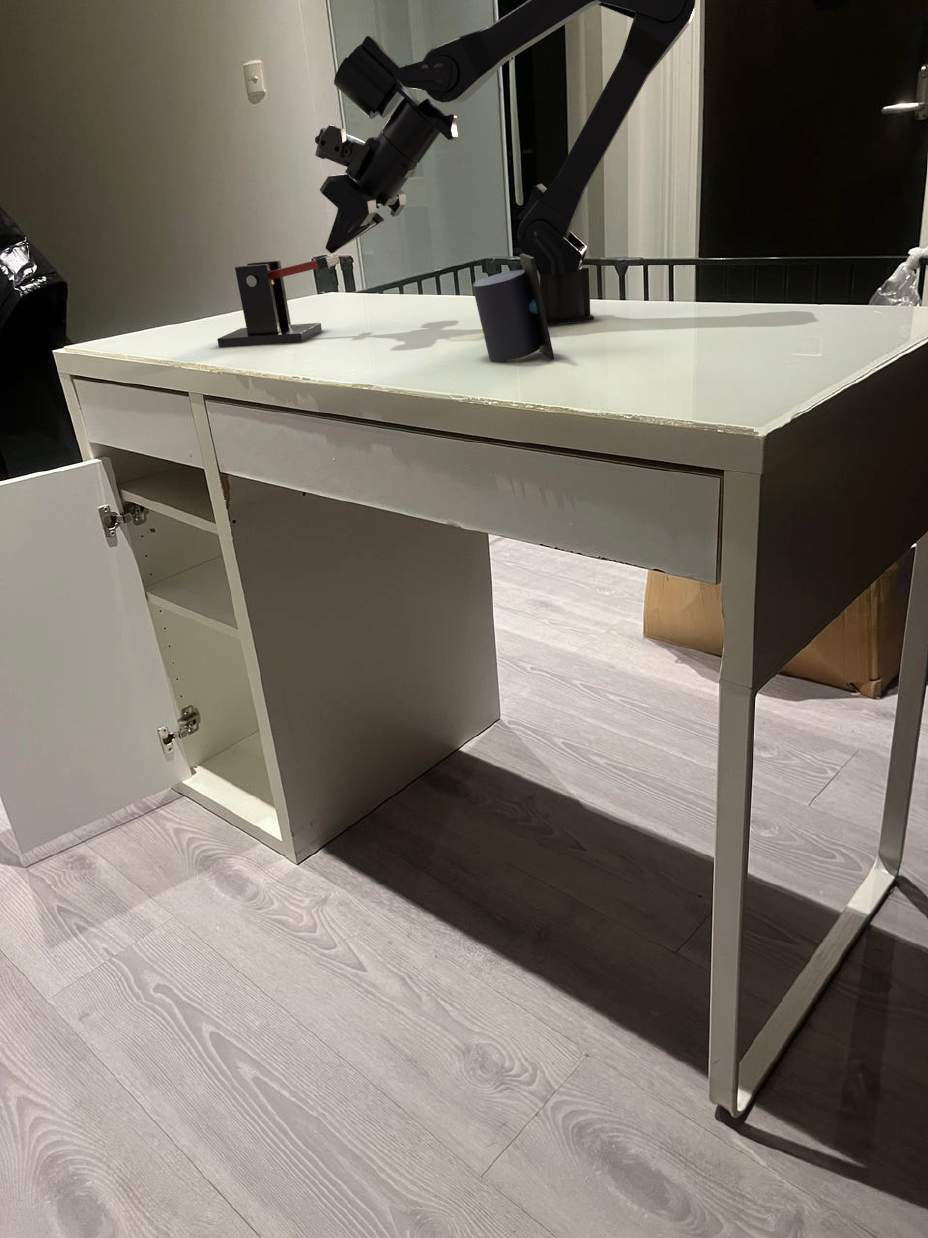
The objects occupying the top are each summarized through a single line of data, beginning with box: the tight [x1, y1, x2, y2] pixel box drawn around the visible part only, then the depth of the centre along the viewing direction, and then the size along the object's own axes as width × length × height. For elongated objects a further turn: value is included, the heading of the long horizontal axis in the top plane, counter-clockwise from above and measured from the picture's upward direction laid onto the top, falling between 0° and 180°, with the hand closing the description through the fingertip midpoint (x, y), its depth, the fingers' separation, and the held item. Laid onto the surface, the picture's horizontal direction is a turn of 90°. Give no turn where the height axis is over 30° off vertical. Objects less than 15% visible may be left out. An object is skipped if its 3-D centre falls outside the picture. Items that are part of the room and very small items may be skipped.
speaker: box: [472, 253, 555, 363], centre depth 98 cm, size 8×6×10 cm
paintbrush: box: [269, 252, 341, 285], centre depth 122 cm, size 12×5×2 cm, turn 79°
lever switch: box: [216, 260, 323, 349], centre depth 124 cm, size 12×8×10 cm, turn 79°
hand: (329, 250), depth 120 cm, fingers closed
